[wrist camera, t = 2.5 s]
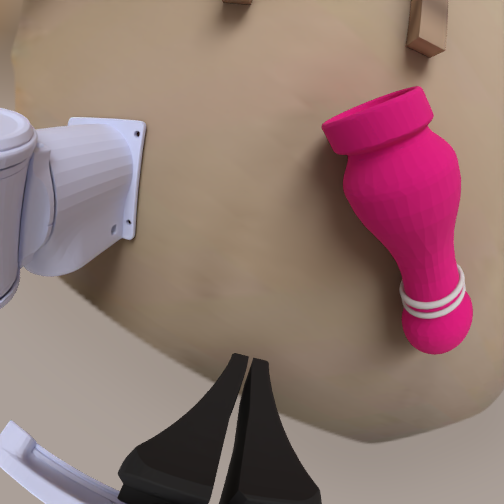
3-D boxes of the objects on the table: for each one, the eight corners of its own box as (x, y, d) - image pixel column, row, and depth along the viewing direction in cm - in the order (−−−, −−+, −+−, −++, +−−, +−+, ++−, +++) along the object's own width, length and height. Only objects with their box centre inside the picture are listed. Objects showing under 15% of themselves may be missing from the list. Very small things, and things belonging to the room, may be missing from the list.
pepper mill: (355, 104, 17) (427, 311, 24) (287, 140, 15) (388, 367, 21) (442, 76, 11) (489, 325, 17) (397, 101, 8) (456, 395, 15)
